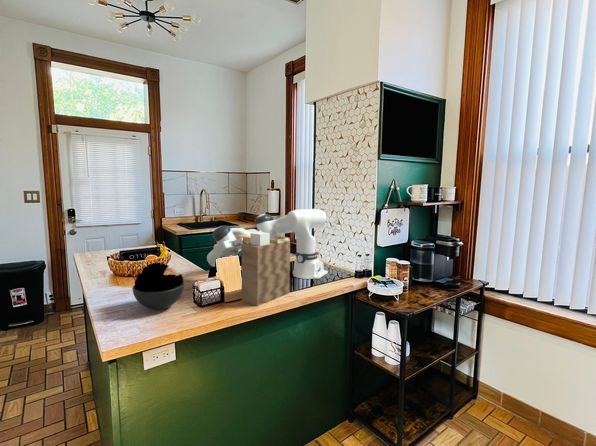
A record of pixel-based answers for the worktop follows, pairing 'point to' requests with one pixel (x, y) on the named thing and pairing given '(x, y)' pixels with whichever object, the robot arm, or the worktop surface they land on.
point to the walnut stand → (265, 271)
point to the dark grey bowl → (157, 287)
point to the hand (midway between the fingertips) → (246, 238)
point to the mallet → (257, 238)
